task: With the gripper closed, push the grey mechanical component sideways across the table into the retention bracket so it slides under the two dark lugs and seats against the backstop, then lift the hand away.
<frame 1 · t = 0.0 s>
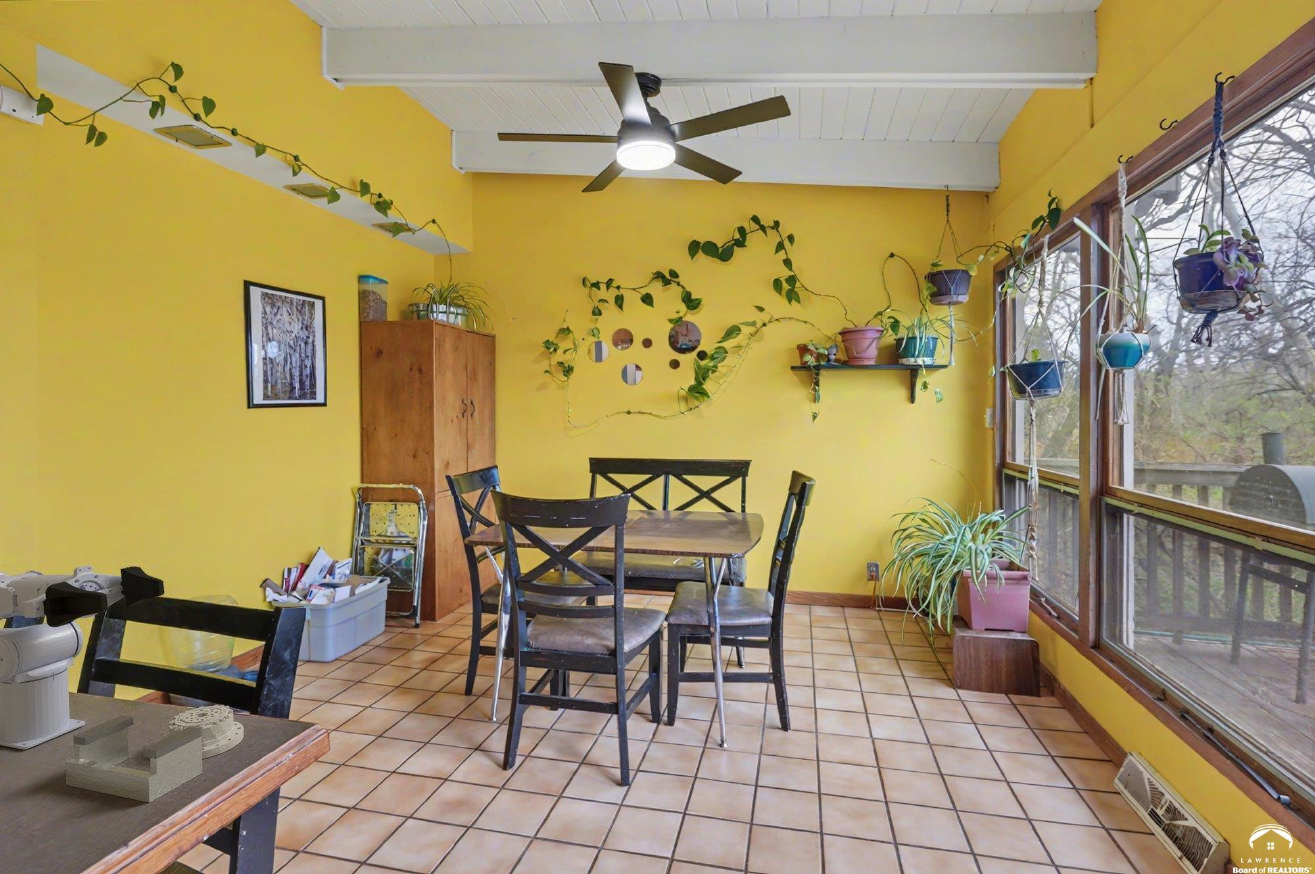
hand: (134, 594, 93), 22 cm above the table, tool horizontal, fingers open, 7 cm apart
bracket: (154, 768, 90), on the table
mechanical component: (202, 747, 97), on the table
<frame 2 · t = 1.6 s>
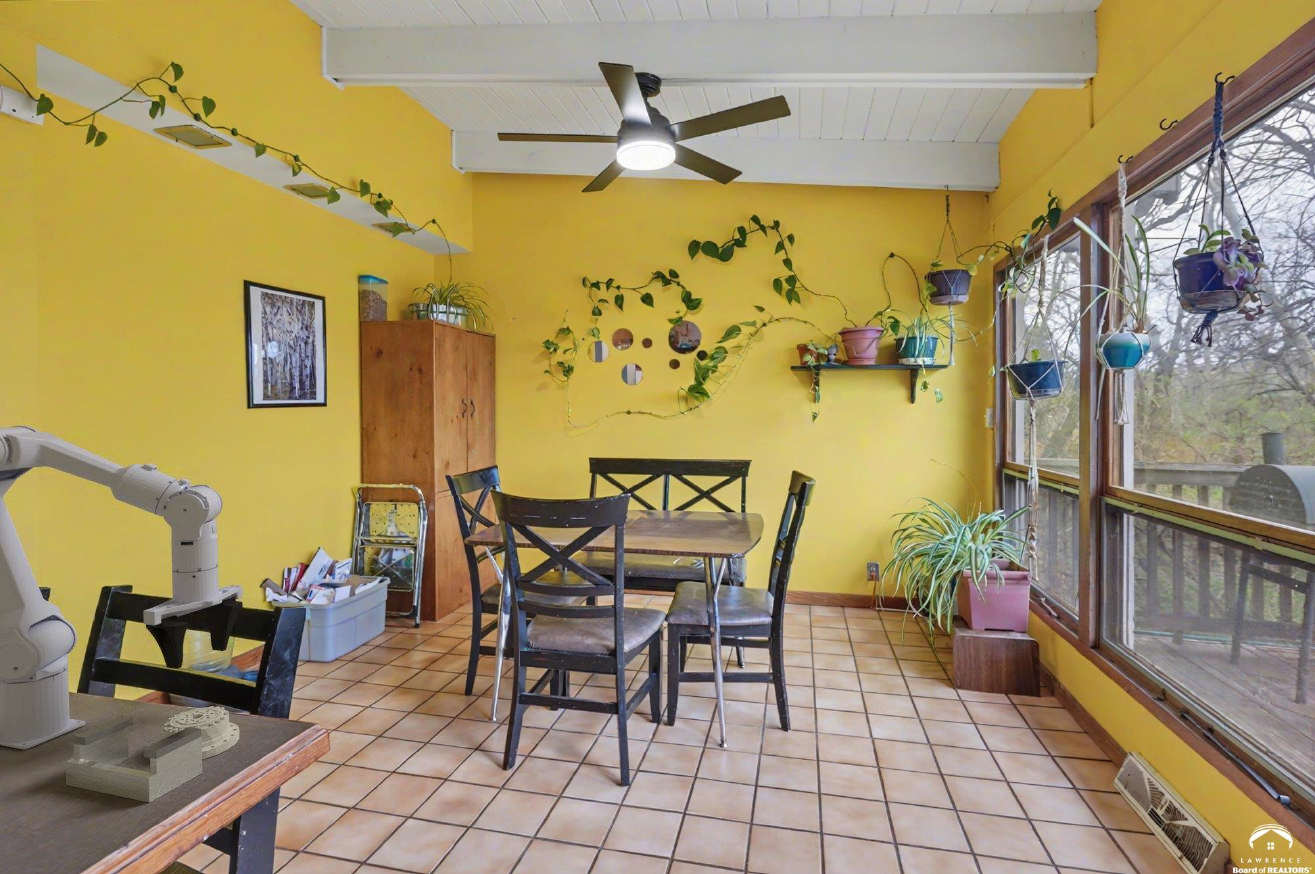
hand: (197, 658, 104), 9 cm above the table, tool pointing down, fingers open, 7 cm apart
nothing on the table moved.
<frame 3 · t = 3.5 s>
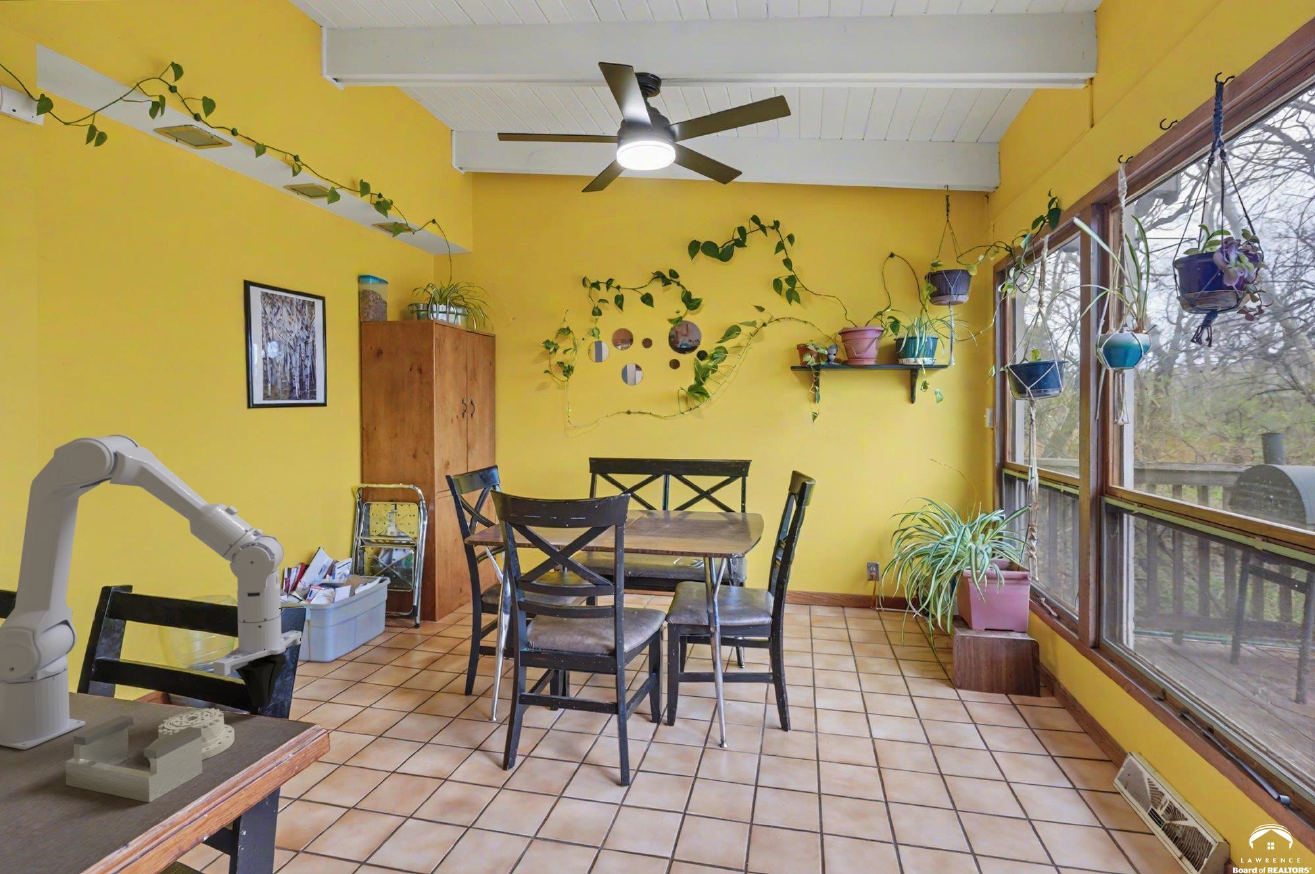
hand: (261, 704, 107), 1 cm above the table, tool pointing down, fingers closed
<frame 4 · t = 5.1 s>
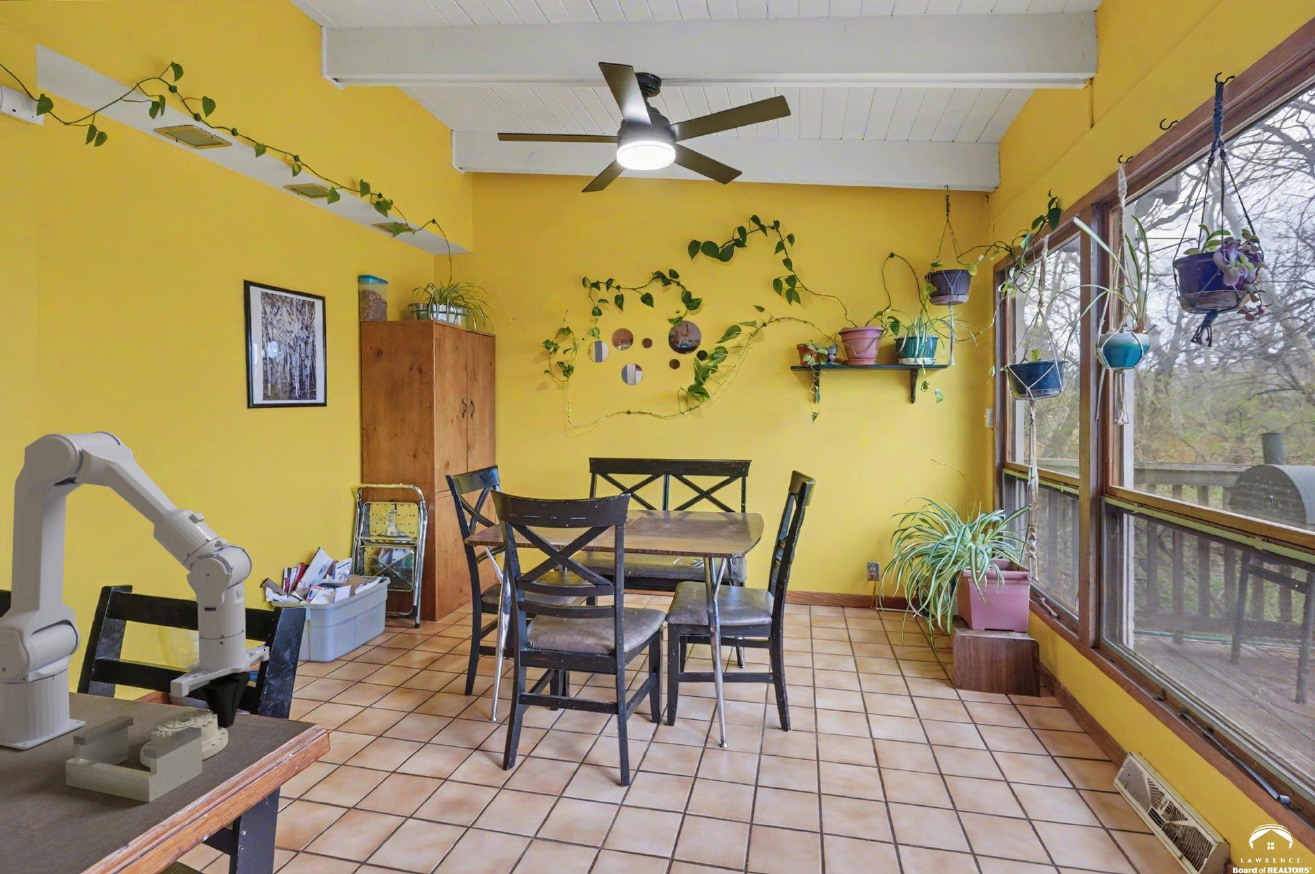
hand: (224, 725, 100), 1 cm above the table, tool pointing down, fingers closed
mechanical component: (185, 753, 95), on the table, touching gripper
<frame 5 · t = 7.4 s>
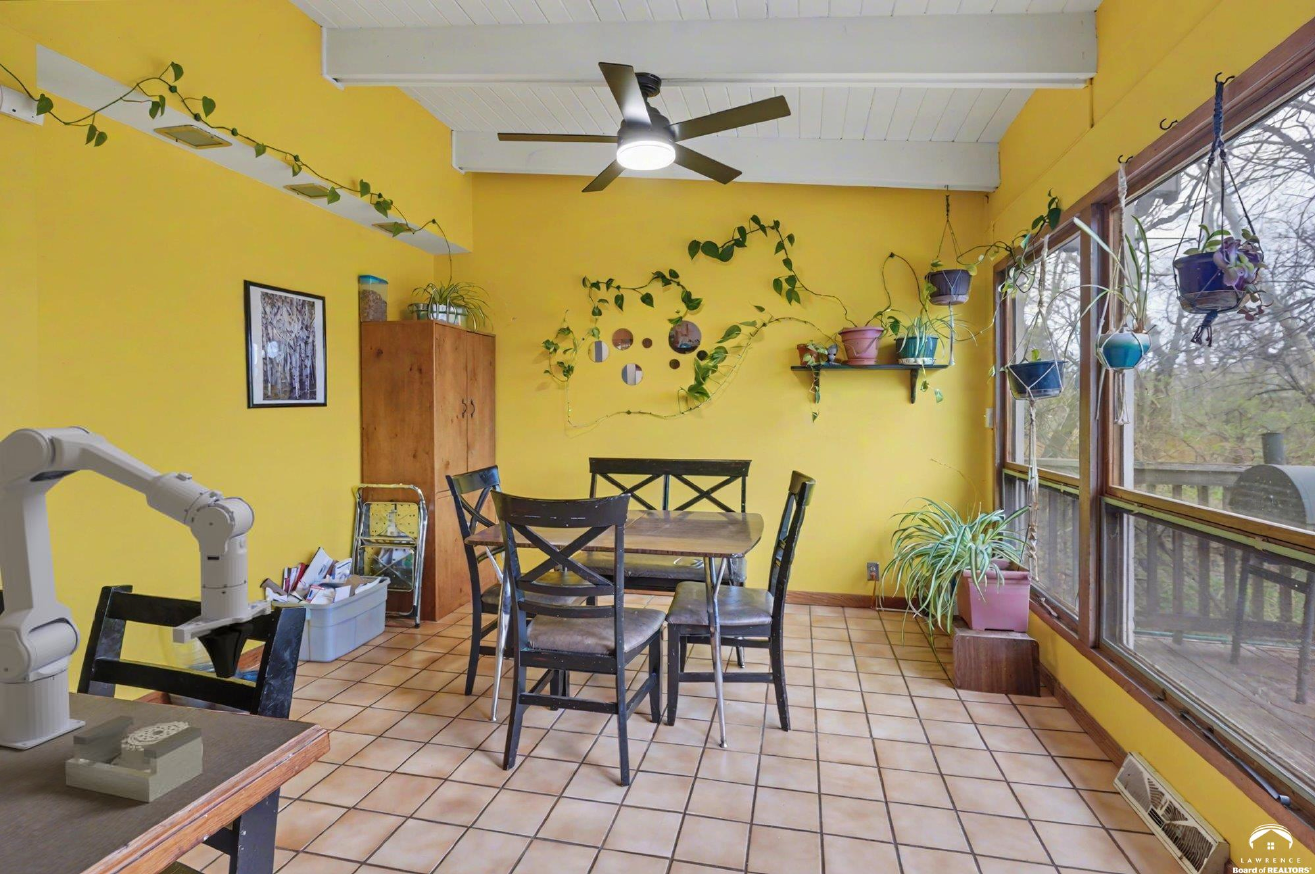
hand: (225, 676, 101), 8 cm above the table, tool pointing down, fingers closed
mechanical component: (157, 767, 92), on the table
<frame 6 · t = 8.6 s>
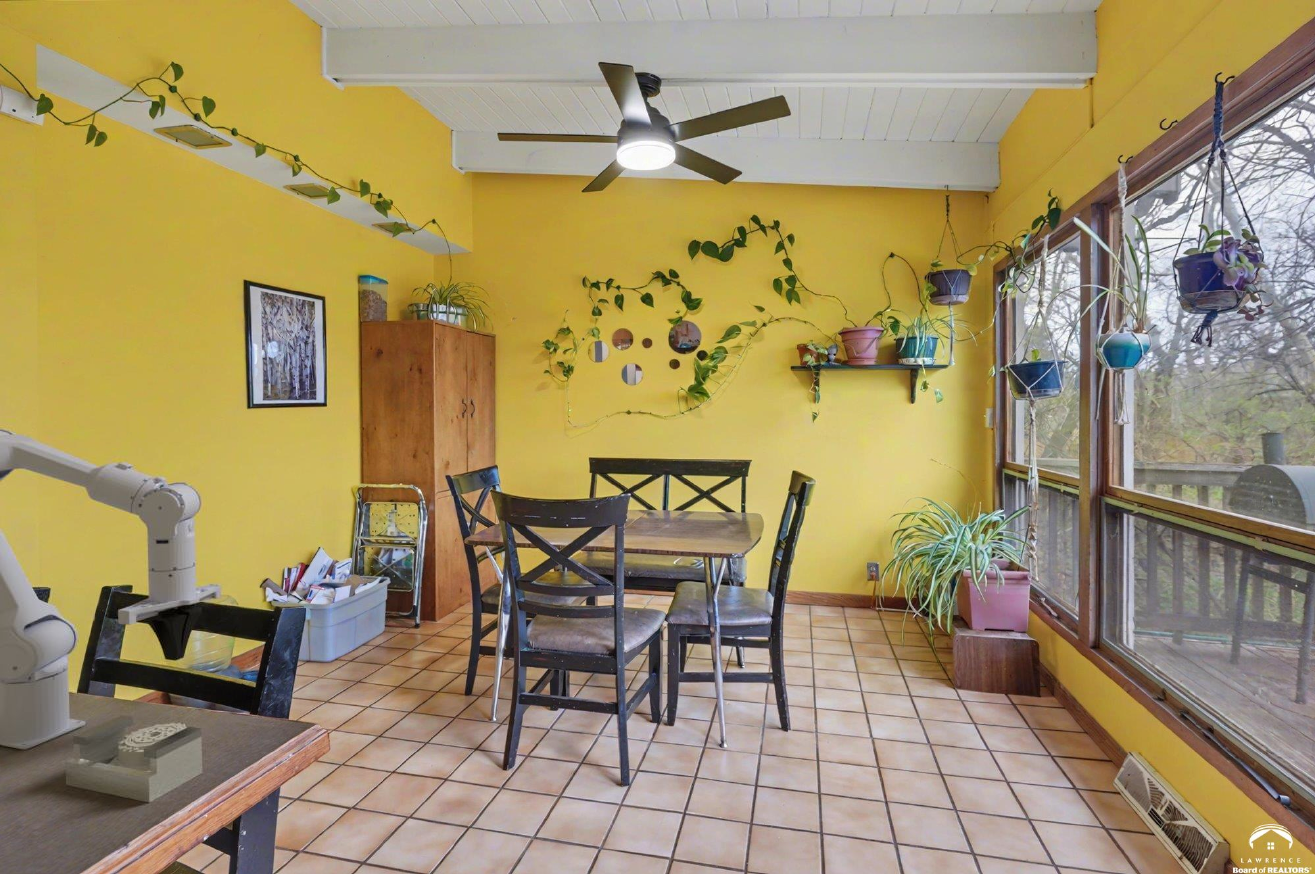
hand: (174, 658, 103), 10 cm above the table, tool pointing down, fingers closed
nothing on the table moved.
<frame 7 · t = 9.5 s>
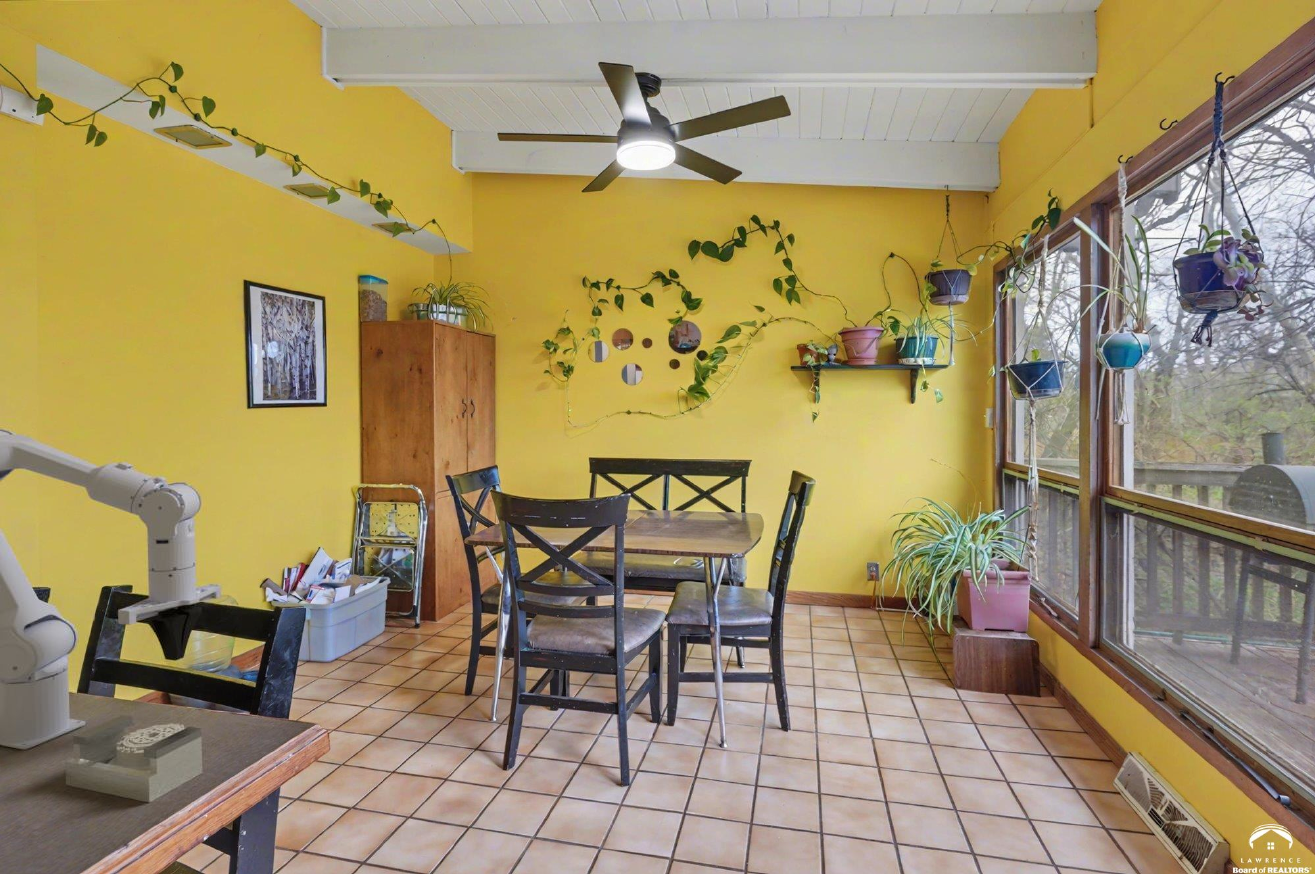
hand: (174, 658, 103), 10 cm above the table, tool pointing down, fingers closed
nothing on the table moved.
at the end: mechanical component 0.9 cm off-centre on the bracket, point -0.5 cm above the bracket's base; mechanical component moved 6.6 cm from its start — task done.
